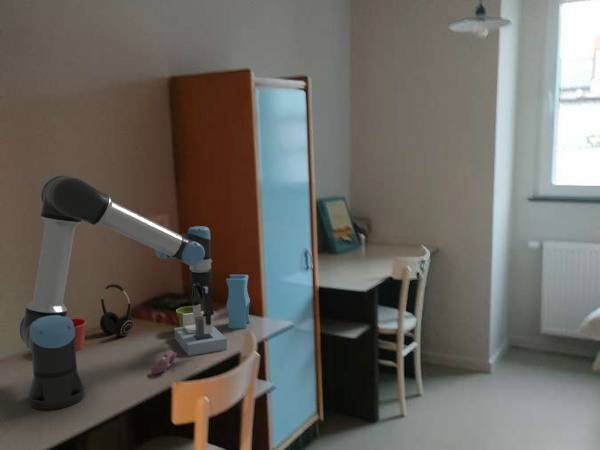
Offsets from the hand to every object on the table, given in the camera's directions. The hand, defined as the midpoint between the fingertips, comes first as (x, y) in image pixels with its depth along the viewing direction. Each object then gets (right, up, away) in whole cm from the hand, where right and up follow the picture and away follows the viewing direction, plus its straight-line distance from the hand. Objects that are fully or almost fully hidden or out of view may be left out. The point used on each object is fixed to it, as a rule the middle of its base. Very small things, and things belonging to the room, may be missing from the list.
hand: (202, 327), depth 209 cm
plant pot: (-9, -5, +19) cm, 21 cm away
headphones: (-35, -6, +15) cm, 39 cm away
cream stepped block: (-4, -2, +8) cm, 9 cm away
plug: (0, -6, +1) cm, 6 cm away
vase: (+10, -4, +26) cm, 28 cm away
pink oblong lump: (-9, -11, -19) cm, 23 cm away
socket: (-2, -7, +5) cm, 8 cm away
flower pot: (-47, -8, +1) cm, 48 cm away
